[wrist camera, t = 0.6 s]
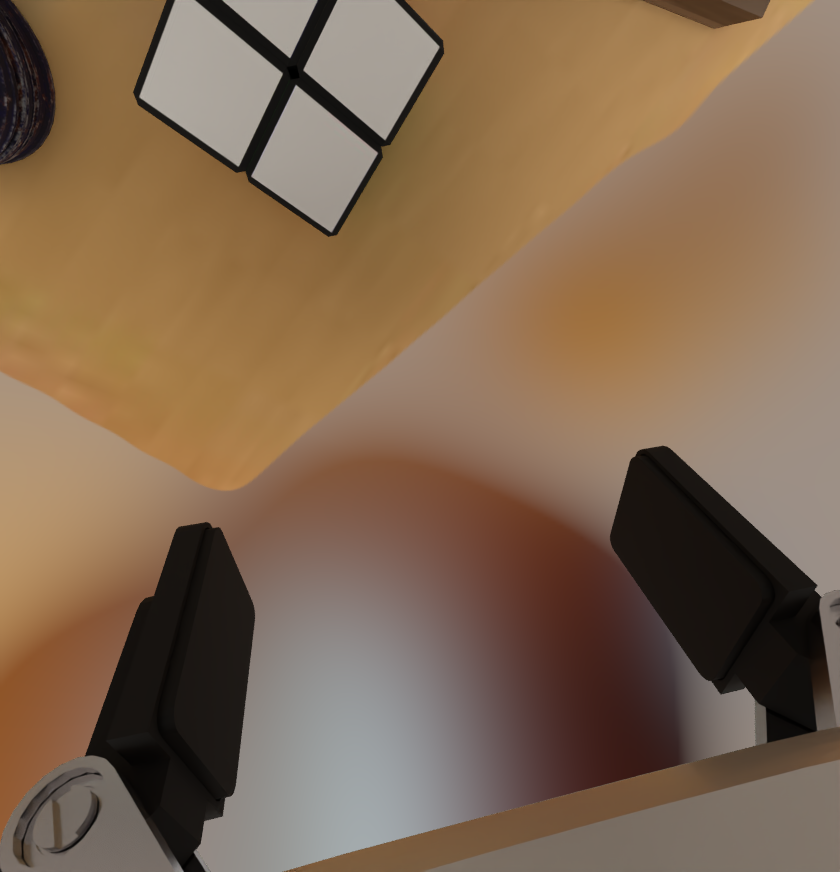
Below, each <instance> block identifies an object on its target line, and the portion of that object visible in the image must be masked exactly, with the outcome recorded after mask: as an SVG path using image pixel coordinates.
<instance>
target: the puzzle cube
mask: <svg viewBox="0 0 840 872" xmlns="http://www.w3.org/2000/svg"><path fill="white" fill-rule="evenodd" d="M443 54H444V48H443V40H442V39H441V38H440V37H439V36H438V35H437V34H436V33H435V32H434V31H433V30H432V29H431V28H430V27H429V26H428V25H427V23H426V22H425V21H424V20H423V19H422V18H421V17H420V16H419V15H418V14H417V13H416V12H415V11H414V10H413V9H412V8H411V7H410V6H409V5H408V3H407V2H406V1H405V0H167V1H166V3H165V6H164V9H163V12H162V14H161V17H160V20H159V23H158V25H157V28H156V31H155V34H154V36H153V39H152V42H151V45H150V47H149V50H148V53H147V56H146V58H145V61H144V64H143V67H142V69H141V72H140V75H139V78H138V80H137V83H136V86H135V89H134V91H133V93H134V96H135V98H136V100H137V103H138V105H139V106H140V107H142V108H143V109H145V110H146V111H148V112H149V113H151V114H152V115H153V116H155V117H156V118H158V119H159V120H161V121H162V122H164V123H165V124H167V125H168V126H169V127H171V128H172V129H174V130H175V131H177V132H178V133H180V134H181V135H182V136H184V137H185V138H187V139H188V140H190V141H191V142H193V143H194V144H195V145H197V146H198V147H200V148H201V149H203V150H204V151H206V152H207V153H209V154H210V155H211V156H213V157H214V158H216V159H217V160H219V161H220V162H222V163H223V164H224V165H226V166H227V167H229V168H230V169H232V170H233V171H235V172H236V173H238V172H243V171H246V174H247V177H248V180H249V182H250V183H251V184H253V185H254V186H256V187H257V188H259V189H260V190H261V191H263V192H264V193H266V194H267V195H269V196H270V197H272V198H273V199H275V200H276V201H277V202H279V203H280V204H282V205H283V206H285V207H286V208H288V209H289V210H290V211H292V212H293V213H295V214H296V215H298V216H299V217H301V218H302V219H303V220H305V221H306V222H308V223H309V224H311V225H312V226H314V227H315V228H317V229H318V230H319V231H321V232H322V233H324V234H325V235H327V236H328V237H329V236H334V235H337V234H338V232H339V230H340V229H341V227H342V225H343V224H344V222H345V220H346V219H347V217H348V215H349V214H350V212H351V210H352V208H353V207H354V205H355V203H356V202H357V200H358V198H359V197H360V195H361V193H362V192H363V190H364V188H365V186H366V185H367V183H368V181H369V180H370V178H371V176H372V175H373V173H374V171H375V170H376V168H377V166H378V164H379V163H380V161H381V159H382V158H383V155H382V149H381V146H387V145H390V144H391V142H392V141H393V139H394V137H395V136H396V134H397V132H398V131H399V129H400V127H401V125H402V124H403V122H404V120H405V119H406V117H407V115H408V114H409V112H410V110H411V109H412V107H413V105H414V103H415V102H416V100H417V98H418V97H419V95H420V93H421V92H422V90H423V88H424V87H425V85H426V83H427V81H428V80H429V78H430V76H431V75H432V73H433V71H434V70H435V68H436V66H437V65H438V63H439V61H440V59H441V58H442V56H443Z"/></svg>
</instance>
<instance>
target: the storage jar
mask: <svg viewBox="0 0 840 872" xmlns="http://www.w3.org/2000/svg"><path fill="white" fill-rule="evenodd" d="M54 114H55V90H54V84H53V79H52V74H51V71H50V68H49V65H48V62H47V59H46V57H45V54H44V52H43V50H42V48H41V45H40V43H39V41H38V39H37V38H36V36H35V34H34V33H33V31H32V29H31V27H30V26H29V24H28V22H27V21H26V20H25V18H24V17H23V16H22V14H21V13H20V12H19V10H18V9H17V7H16V6H15V5H14V4H13V3H12V1H11V0H0V164H6V163H12V162H15V161H18V160H21V159H24V158H26V157H27V156H29V155H31V154H32V153H34V152H35V151H36V150H37V149H38V148H39V147H40V146H41V145H42V144H43V143H44V141H45V139H46V138H47V136H48V135H49V132H50V130H51V127H52V124H53V121H54Z"/></svg>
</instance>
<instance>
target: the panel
mask: <svg viewBox="0 0 840 872" xmlns="http://www.w3.org/2000/svg"><path fill="white" fill-rule="evenodd" d="M644 1H646V2H649V3H651V4H654V5H656V6H659V7H661V8H664V9H666V10H669V11H671V12H674V13H676V14H679V15H681V16H684V17H686V18H689V19H691V20H694V21H696V22H699V23H701V24H704V25H706V26H709V27H712V28H714V29H715V28H719V27H724V26H728V25H732V24H737V23H741V22H745V21H750V20H754V19H759V18H762V17H763V15H764V13H765V11H766V8H767V6H768V4H769V2H770V0H644Z"/></svg>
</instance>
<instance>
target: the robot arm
mask: <svg viewBox="0 0 840 872" xmlns="http://www.w3.org/2000/svg"><path fill="white" fill-rule="evenodd" d="M610 541H611V545H612V548H613V549H614V551H615V553H616V554H617V555H618V557H619V558H620V560H621V561H622V563H623V564H624V565H625V567H626V568H627V570H628V571H629V573H630V574H631V576H632V577H633V578H634V580H635V581H636V583H637V584H638V586H639V587H640V588H641V590H642V591H643V593H644V594H645V596H646V597H647V599H648V600H649V601H650V603H651V604H652V606H653V607H654V609H655V610H656V612H657V613H658V614H659V616H660V617H661V619H662V620H663V622H664V623H665V624H666V626H667V627H668V629H669V630H670V632H671V633H672V634H673V636H674V637H675V639H676V640H677V642H678V643H679V644H680V646H681V648H682V649H683V650H684V652H685V653H686V655H687V656H688V658H689V659H690V660H691V662H692V663H693V665H694V666H695V668H696V669H697V670H698V672H699V673H700V674H701V676H702V677H704V678H705V679H706V680H708V681H712V683H713V684H714V686H715V687H716V688H717V690H718V691H719V693H720V694H725V693H729V692H733V691H737V690H741V689H744V688H745V687H746V688H747V689H748V691H749V692H750V693H751V694H752V696H753V697H754V699H755V741H756V746H753V747H749V748H745V749H742V750H737V751H734V752H730V753H726V754H722V755H719V756H714V757H711V758H706V759H703V760H699V761H695V762H691V763H687V764H683V765H679V766H675V767H671V768H668V769H664V770H660V771H656V772H652V773H648V774H644V775H641V776H637V777H633V778H629V779H625V780H621V781H617V782H614V783H610V784H606V785H602V786H599V787H595V788H591V789H587V790H583V791H579V792H575V793H572V794H568V795H564V796H560V797H556V798H553V799H549V800H546V801H541V802H537V803H534V804H530V805H526V806H522V807H518V808H515V809H511V810H507V811H504V812H499V813H496V814H492V815H488V816H484V817H481V818H477V819H474V820H469V821H466V822H462V823H458V824H455V825H451V826H447V827H443V828H440V829H436V830H432V831H428V832H425V833H421V834H417V835H413V836H410V837H406V838H402V839H399V840H395V841H391V842H387V843H384V844H380V845H376V846H373V847H369V848H365V849H361V850H358V851H354V852H350V853H346V854H343V855H340V856H336V857H333V858H329V859H325V860H322V861H318V862H315V863H312V864H308V865H305V866H301V867H298V868H294V869H291V870H287V871H284V872H840V590H834V591H831V592H828V593H826V594H825V595H824V596H823V597H821V596H820V595H819V594H818V593H817V592H816V591H815V588H816V587H817V584H815V583H814V582H813V581H812V580H811V579H810V578H809V577H808V576H807V575H805V573H803V571H801V570H800V569H799V568H798V567H797V566H796V565H795V564H794V563H793V562H792V561H791V560H790V559H789V558H787V557H786V556H785V555H784V554H783V553H782V552H781V551H780V550H779V549H778V548H777V547H775V546H774V545H773V544H772V543H771V542H770V541H769V540H768V539H767V538H766V537H765V536H764V535H763V534H761V533H760V532H759V531H758V530H757V529H756V528H755V527H754V526H753V525H752V524H751V523H750V522H749V521H747V519H745V518H744V517H743V516H742V515H741V514H740V513H739V512H738V511H737V510H736V509H735V508H734V507H732V506H731V505H730V504H729V503H728V502H727V501H726V500H725V499H724V498H723V497H722V496H721V495H720V494H718V493H717V492H716V491H715V490H714V489H713V488H712V487H711V486H710V485H709V484H708V483H707V482H706V481H705V480H703V479H702V478H701V477H700V476H699V475H698V474H697V473H696V472H695V471H694V470H693V469H692V468H691V467H689V466H688V465H687V464H686V463H685V462H684V461H683V460H682V459H681V458H680V457H679V456H678V455H677V454H675V453H674V452H673V451H672V450H671V449H670V448H668V447H666V446H659V447H654V448H648V449H642V450H639V451H638V452H637V454H636V456H635V457H633V458H632V459H631V461H630V464H629V467H628V471H627V475H626V478H625V482H624V486H623V490H622V493H621V497H620V501H619V505H618V508H617V512H616V516H615V519H614V523H613V526H612V530H611V534H610ZM254 622H255V610H254V605H253V602H252V600H251V597H250V595H249V593H248V590H247V588H246V586H245V583H244V581H243V579H242V576H241V574H240V572H239V569H238V567H237V565H236V563H235V560H234V558H233V556H232V554H231V551H230V549H229V546H228V544H227V542H226V539H225V537H224V535H223V532H222V530H221V529H220V528H219V527H218V528H212V526H211V525H210V523H208V522H205V523H199V524H193V525H187V526H181V527H178V528H177V529H176V532H175V534H174V537H173V540H172V543H171V546H170V549H169V552H168V555H167V558H166V561H165V564H164V567H163V570H162V573H161V576H160V579H159V582H158V585H157V588H156V591H155V594H154V596H152V597H148V598H145V599H144V600H143V601H142V602H141V603H140V605H139V607H138V609H137V612H136V614H135V617H134V620H133V623H132V626H131V628H130V631H129V634H128V637H127V640H126V642H125V646H124V648H123V651H122V654H121V657H120V659H119V662H118V665H117V668H116V671H115V673H114V676H113V679H112V682H111V685H110V688H109V690H108V693H107V696H106V699H105V702H104V704H103V707H102V710H101V713H100V715H99V718H98V721H97V724H96V727H95V730H94V733H93V735H92V738H91V741H90V744H89V747H88V749H87V752H86V755H85V757H78V758H75V759H73V760H71V761H69V762H66V763H64V764H62V765H60V766H58V767H57V768H55V769H54V770H53V771H51V772H50V773H48V774H47V775H45V776H44V777H43V778H42V779H41V780H40V781H39V782H38V783H37V784H35V785H34V786H33V787H32V788H31V789H30V790H29V791H28V792H27V793H26V795H25V796H24V797H23V799H22V800H21V802H20V803H19V804H18V806H17V807H16V809H15V810H14V811H13V813H12V815H11V817H10V819H9V821H8V823H7V825H6V827H5V829H4V831H3V835H2V839H1V843H0V872H211V871H210V870H209V868H208V866H207V865H206V863H205V862H204V860H203V858H202V857H201V855H200V854H199V852H198V851H197V848H198V846H199V845H200V844H201V838H202V832H203V825H204V821H206V820H210V819H214V818H218V817H222V816H223V810H224V802H225V798H226V797H230V796H232V795H233V793H234V790H235V786H236V779H237V770H238V761H239V753H240V744H241V736H242V727H243V717H244V709H245V700H246V692H247V683H248V674H249V666H250V657H251V649H252V640H253V630H254Z"/></svg>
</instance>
